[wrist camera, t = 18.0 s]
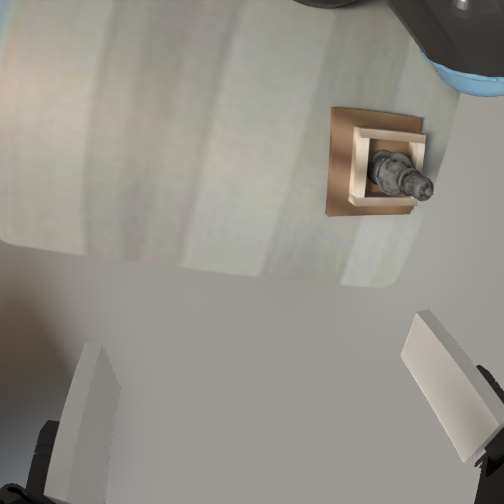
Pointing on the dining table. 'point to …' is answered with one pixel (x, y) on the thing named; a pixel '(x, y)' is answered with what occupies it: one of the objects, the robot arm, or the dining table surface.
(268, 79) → the dining table surface
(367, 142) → the caddy
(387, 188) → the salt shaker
